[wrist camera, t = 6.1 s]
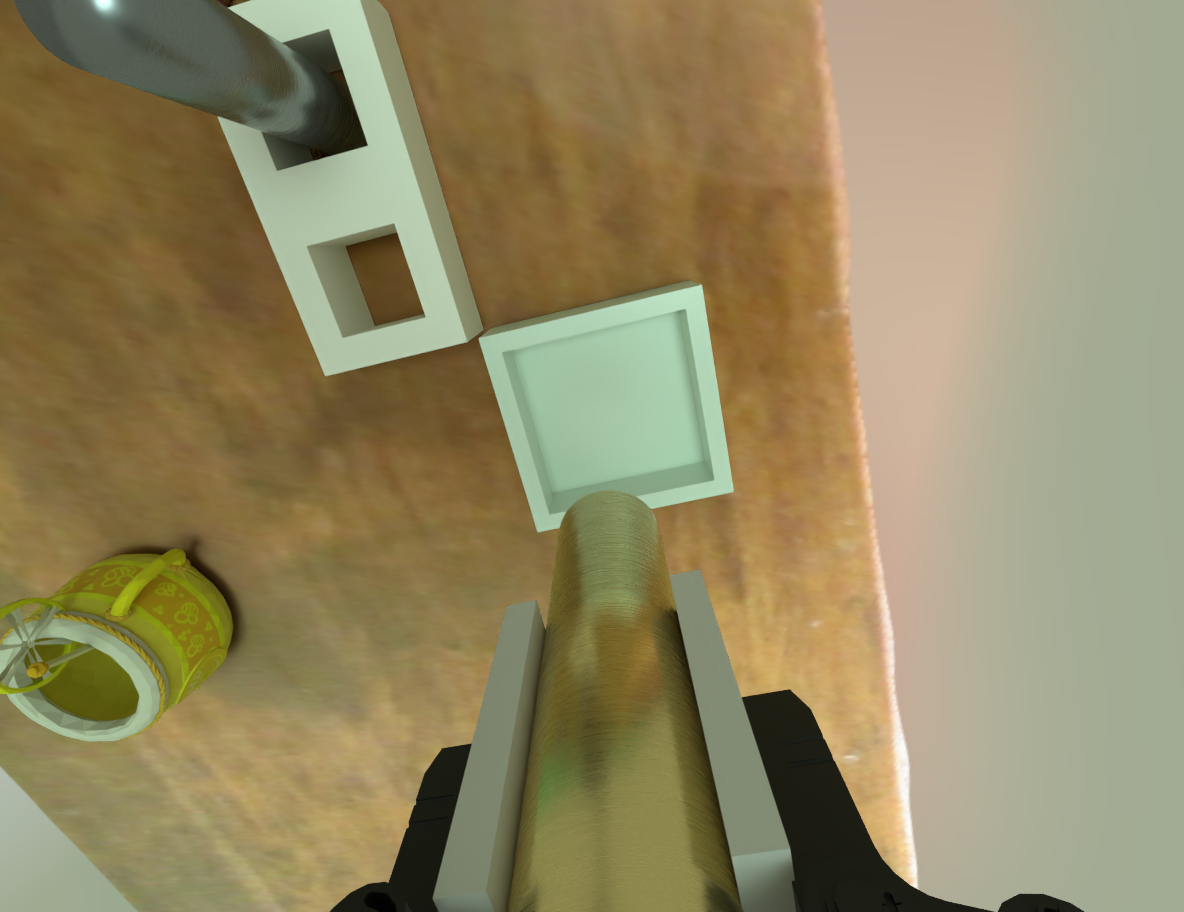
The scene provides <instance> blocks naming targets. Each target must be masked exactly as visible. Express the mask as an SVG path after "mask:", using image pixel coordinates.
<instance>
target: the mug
mask: <svg viewBox="0 0 1184 912" xmlns="http://www.w3.org/2000/svg"><path fill="white" fill-rule="evenodd" d="M30 603H38V604H42V605H40V606H39V607H38V608H37V609H36V610H35V611H34V612H33V613H32V615H31V616H30V617H29V618H26V619H24V620H23V618H22V615H21V612H20V607H21V606H23V605H26V604H30ZM4 616H6V618H7V619H8V621H9V622H10V624H11V625H12V628H10V629H8V632H7V633H5V634H4V636H3V638H2V639H1V640H0V694H7V695H8V697H9V699H10V700H11V701H12V702H13V703H14V704H15V705H16V706H17V707H18V709H19V710H20V711H22V712H23V713H24V714H25V715H26V716H28V717H29V718H30V719H31V720H33V721H35V722H37V723H39V724H40V725H42V726H44V727H46V728H48V729H50V730H52V731H54V732H56V733H58V734H61V735H64V736H67V737H71V738H75V739H80V740H84V741H116V740H122V739H128V738H130V737H133V736H136V735H138V734H140V733H142V732H144V731H146V730H147V729H149V728H151V727H152V726H153V725H154V724H155V723H156V722H157V721H158V719H159V718H160V717H161V715H162V713H164V712H165V711H167V710H168V709H169V708H171V707H172V706H173V705H175V704H178V703H180V702H181V701H182V700H183V699H184V698H185V697H187V696H188V695H189V694H190V693H191V692H192V691H194V690H196V688H197V687H198V686H199V685H201V684H202V683H203V682H204V681H205V680H206V679H207V678H209V677H210V676H211V675H212V674H213V673H214V672H215V671H216V670H217V669H218V668H219V667H220V666H221V665H222V664H223V662H224V660H225V659H226V656H227V650H228V647H229V645H230V642H231V637H232V631H233V622H232V616H231V611H230V609H229V607H228V605H227V603H226V601H225V599H224V597H223V596H222V594H221V593H220V592H219V591H218V589H217V588H216V587H215V585H214V584H213V583H212V582H210V581H209V580H208V579H207V578H206V577H205V576H203V575H202V574H201V573H200V572H199V571H198V570H196V569H195V568H194V567H192V566H191V565H190V561H189V560H188V559H186V554H185V552H184V551H183V549H178V548H177V549H171V550H169V551H168V552H166V553H165V554H163V555H158V554H121V555H118V556H114V557H111V558H108V559H105V560H102V561H99V562H97V563H96V564H94V565H92V566H90V567H89V568H87V569H85V570H83V571H82V572H81V573H79V574H78V575H77V576H75V577H74V578H73V579H72V580H70V581H69V582H68V583H67V584H65V585H64V586H63V587H62V588H60V589H59V590H58V591H57V592H56V593H55V594H53V595H52V596H51V597H50V598H28V599H21V600H18V601H16V602H13V603H10V604H8V605H5V606H4V607H2V608H0V620H1V619H2V618H3V617H4ZM16 621H17V622H18V623H17V622H16ZM199 687H200V686H199ZM199 687H198V688H199Z"/></svg>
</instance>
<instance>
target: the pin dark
mask: <svg viewBox="0 0 1184 912" xmlns="http://www.w3.org/2000/svg"><path fill="white" fill-rule="evenodd" d="M14 2H15V4H16V6H17V9H18V11H19V13H20V15H21V16H22V18H23V20H24V22H25V23H26V25H27V26H28V28H29V29H30V31H31V32H32V33H33V35H34V36H35V37H36V38H37V39H38V41H39V42H40V43H41V44H42V45H43V46H44V47H45V48H46V49H47V50H49V51H50V52H51V53H52V54H53V55H55V56H56V57H58V58H59V59H61V60H62V61H64V62H66V63H68V64H69V65H71V66H74V67H76V68H79V69H82V70H85V71H88V72H90V73H93V74H96V75H99V76H102V77H105V78H108V79H111V80H114V81H117V82H120V83H123V84H125V85H128V86H131V87H134V88H137V89H140V90H143V91H146V92H149V93H152V94H155V95H158V96H160V97H163V98H166V99H169V100H172V101H175V102H178V103H181V104H184V105H187V106H190V107H193V108H195V109H198V110H201V111H204V112H207V113H210V114H213V115H216V116H219V117H222V118H225V119H227V120H230V121H233V122H236V123H239V124H242V125H245V126H248V127H251V128H254V129H257V130H260V131H262V132H265V133H268V134H271V135H274V136H277V137H280V138H283V139H286V140H289V141H292V142H295V143H297V144H300V145H303V146H306V147H309V148H312V149H315V150H318V151H321V152H324V153H327V154H330V155H332V156H333V155H337V154H340V153H344V152H347V151H351V150H355V149H358V148H362V147H365V146H368V144H367V141H366V138H365V135H364V132H363V129H362V126H361V123H360V120H359V117H358V114H357V111H356V108H355V105H354V102H353V99H352V96H351V93H350V90H349V87H348V85H346V84H344V83H343V82H341V81H340V80H338V79H337V78H335V77H334V76H332V75H331V74H329V73H327V72H326V71H324V70H323V69H321V68H320V67H318V66H317V65H315V64H314V63H312V62H310V61H309V60H307V59H306V58H304V57H303V56H301V55H300V54H298V53H297V52H295V51H293V50H292V49H290V48H289V47H287V46H286V45H284V44H283V43H281V42H280V41H278V40H276V39H275V38H273V37H272V36H270V35H269V34H267V33H266V32H264V31H263V30H261V29H259V28H258V27H256V26H255V25H253V24H252V23H250V22H249V21H247V20H246V19H244V18H242V17H241V16H239V15H238V14H236V13H235V12H233V11H232V10H230V9H229V8H227V7H225V6H224V5H222V4H221V3H219V2H218V1H216V0H14Z"/></svg>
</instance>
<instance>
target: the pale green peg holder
mask: <svg viewBox="0 0 1184 912" xmlns="http://www.w3.org/2000/svg"><path fill="white" fill-rule="evenodd" d="M228 8H229V9H230V10H232V11H233V12H235V13H236V14H238V15H239V16H241V17H242V18H244V19H246V20H247V21H249V22H250V23H252V24H253V25H255V26H256V27H258V28H259V29H261V30H263V31H264V32H266V33H267V34H269V35H270V36H272V37H273V38H275V39H276V40H278V41H280V42H281V43H283V44H284V45H286V46H287V47H289V48H290V49H292V50H293V51H295V52H297V53H298V54H300V55H301V56H303V57H304V58H306V59H307V60H309V61H310V62H312V63H314V64H315V65H317V66H318V67H320V68H321V69H323V70H324V71H326V72H327V73H331V72H334V71H338V70H341V69H343V72H344V75H345V78H346V81H347V84H348V87H349V90H350V93H351V96H352V99H353V102H354V105H355V108H356V111H357V114H358V117H359V120H360V123H361V126H362V129H363V132H364V135H365V138H366V141H367V144H368V146H365V147H362V148H358V149H355V150H351V151H347V152H344V153H340V154H337V155H333V156H329V157H326V158H322V159H319V160H315V161H314V160H313V157H312V155H311V152H310V149H309V147H306V146H303V145H300V144H297V143H295V142H292V141H289V140H286V139H283V138H280V137H277V136H274V135H271V134H268V133H265V132H262V131H260V130H257V129H254V128H251V127H248V126H245V125H242V124H239V123H236V122H233V121H230V120H227V119H225V118H222V117H219V116H217V117H218V120H219V122H220V124H221V127H222V129H223V132H224V134H225V136H226V139H227V141H228V144H229V146H230V148H231V151H232V153H233V156H234V158H235V160H236V163H237V165H238V168H239V170H240V172H241V175H242V177H243V180H244V182H245V184H246V187H247V189H248V192H249V194H250V196H251V199H252V201H253V204H254V206H255V208H256V211H257V213H258V216H259V218H260V220H261V223H262V225H263V228H264V230H265V233H266V235H267V237H268V240H269V242H270V245H271V247H272V249H273V252H274V254H275V257H276V259H277V261H278V264H279V266H280V269H281V271H282V273H283V276H284V278H285V281H286V283H287V285H288V288H289V290H290V293H291V295H292V297H293V300H294V302H295V305H296V307H297V309H298V312H299V314H300V317H301V319H302V321H303V324H304V326H305V329H306V331H307V333H308V336H309V338H310V341H311V343H312V345H313V348H314V350H315V353H316V355H317V358H318V360H319V362H320V365H321V367H322V370H323V372H324V374H325V376H329V375H333V374H337V373H341V372H345V371H350V370H354V369H358V368H362V367H366V366H370V365H375V364H379V363H383V362H387V361H391V360H395V359H399V358H404V357H408V356H412V355H416V354H420V353H424V352H429V351H433V350H437V349H441V348H445V347H449V346H454V345H458V344H462V343H466V342H468V341H470V340H471V339H472V338H474V337H475V336H476V335H478V334H479V333H480V332H481V331H483V330H484V329H483V326H482V322H481V319H480V316H479V312H478V309H477V306H476V303H475V299H474V296H473V293H472V289H471V286H470V283H469V279H468V276H467V273H466V269H465V266H464V263H463V259H462V256H461V253H460V249H459V246H458V243H457V239H456V236H455V233H454V229H453V226H452V223H451V219H450V216H449V213H448V209H447V206H446V203H445V199H444V196H443V193H442V189H441V186H440V183H439V180H438V176H437V173H436V170H435V166H434V163H433V160H432V156H431V153H430V150H429V146H428V143H427V140H426V136H425V133H424V130H423V126H422V123H421V120H420V116H419V113H418V110H417V106H416V103H415V100H414V96H413V93H412V90H411V86H410V83H409V80H408V76H407V73H406V70H405V67H404V63H403V60H402V57H401V53H400V50H399V47H398V43H397V40H396V37H395V33H394V30H393V27H392V23H391V20H390V17H389V13H388V12H387V10H386V9H385V8H384V7H383V6H382V5H381V4H380V3H379V1H378V0H251V1H248V2H244V3H241V4H238V5H235V6H232V7H228ZM394 233H398V236H399V239H400V242H401V245H402V248H403V251H404V254H405V257H406V260H407V263H408V266H409V269H410V272H411V275H412V278H413V281H414V284H415V287H416V290H417V293H418V296H419V299H420V302H421V305H422V308H423V311H424V314H422V315H418V316H414V317H410V318H406V319H402V320H397V321H393V322H389V323H385V324H381V325H377V326H375V325H374V322H373V319H372V317H371V314H370V311H369V309H368V306H367V303H366V300H365V298H364V295H363V292H362V290H361V287H360V284H359V282H358V279H357V276H356V273H355V271H354V268H353V265H352V263H351V260H350V257H349V255H348V252H347V249H346V246H348V245H352V244H356V243H359V242H363V241H367V240H371V239H375V238H378V237H382V236H386V235H390V234H394Z"/></svg>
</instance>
